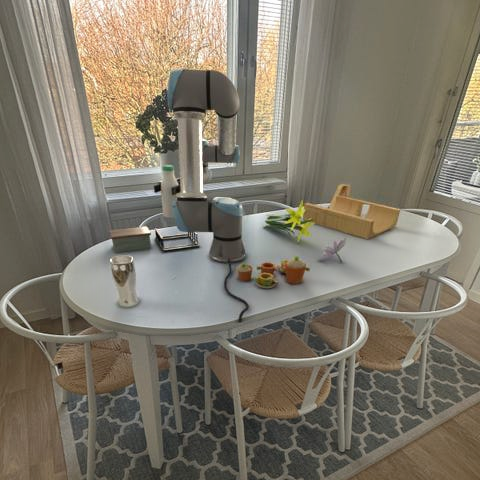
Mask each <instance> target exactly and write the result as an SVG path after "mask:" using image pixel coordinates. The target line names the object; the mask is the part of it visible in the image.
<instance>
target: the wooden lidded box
mask: <svg viewBox="0 0 480 480" xmlns="http://www.w3.org/2000/svg"><path fill="white" fill-rule="evenodd" d="M108 232H109V235H110V238H111V243H112V246H113V249H114V252H115V254H117V253H126V252H134V251H140V250H148V249H150V250H151V249H152V244H151V235H152V233H151V231H150V229H149V228H148V226H138V227H137V226H136V227H128V228H119V229H118V228H117V229H109V230H108Z"/></svg>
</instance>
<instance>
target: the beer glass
mask: <svg viewBox="0 0 480 480" xmlns="http://www.w3.org/2000/svg"><path fill="white" fill-rule="evenodd" d="M109 262H110V263H109V264H110V272H111V275H112V279H113V282H114V285H115V288H116V290H117V293H118V304H119V306H120V307H123V308H132V307H134V306H137V305H138V304H139V302H140V301H139V297H138V295H137V289H136V287H137V272H136V271H137V270H136V267H135V263H134V258H133V257H132V256H130V255H128V254H122V255H115V256H113V257H112V258H110V260H109Z"/></svg>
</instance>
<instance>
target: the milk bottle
mask: <svg viewBox="0 0 480 480" xmlns="http://www.w3.org/2000/svg"><path fill="white" fill-rule="evenodd" d="M162 173H163V176H162V180H161V181H162V183H161V191H160V195H161V208H162V215H163V217H165V218H168V219H175V218H174V213H173V202H174V201H177V195H178V194H179V193H177V194H175V195H172V189H171V188H172V187H175V186H178V182H177V180H176V179H177V178H176V176H175V166H174V165H172V164H164V165H162Z"/></svg>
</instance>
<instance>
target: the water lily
mask: <svg viewBox="0 0 480 480" xmlns="http://www.w3.org/2000/svg"><path fill="white" fill-rule="evenodd" d="M347 238H348V235H346V236H345V237H344V238H343V239H339V241H338V240H337V239H334V241H333V246H325V247H324V249H322V251H323V252H322V254H323V255H321V256H320V257H321V259H319V262H322V261H324V260H327V259H330V258H331V257H332V256H335V255H336V256H337V257H338V260H339V262H340V263H343V260H342V258H341V256H340V254H339V253H338V252H339V251H341V250H342V249H343V248H344V247H345V245H346V244H347V242H348V241H347Z"/></svg>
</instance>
